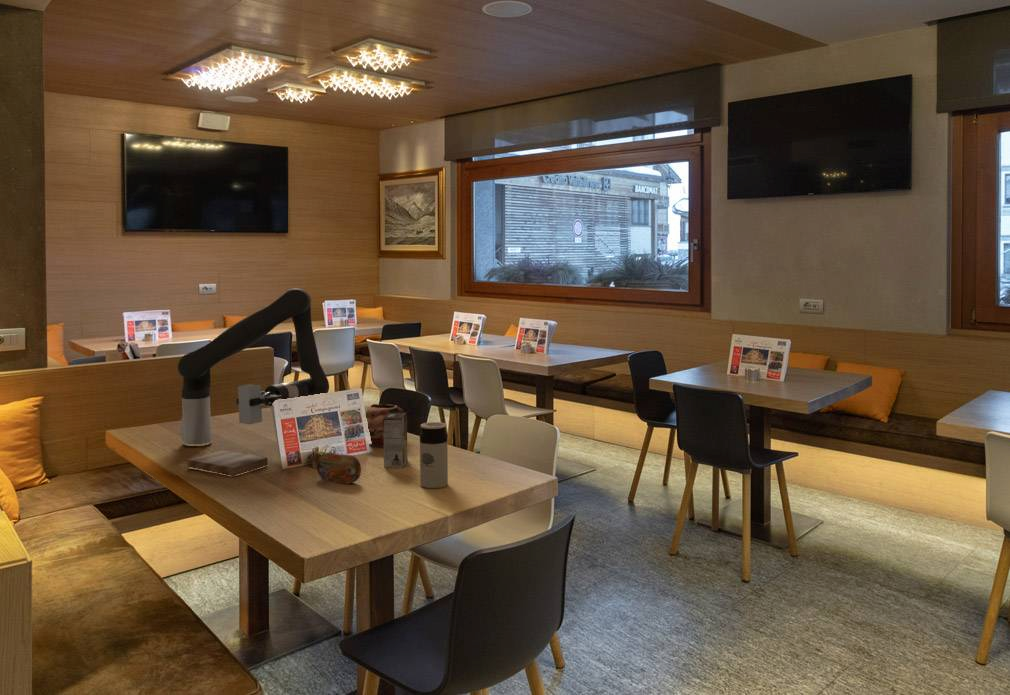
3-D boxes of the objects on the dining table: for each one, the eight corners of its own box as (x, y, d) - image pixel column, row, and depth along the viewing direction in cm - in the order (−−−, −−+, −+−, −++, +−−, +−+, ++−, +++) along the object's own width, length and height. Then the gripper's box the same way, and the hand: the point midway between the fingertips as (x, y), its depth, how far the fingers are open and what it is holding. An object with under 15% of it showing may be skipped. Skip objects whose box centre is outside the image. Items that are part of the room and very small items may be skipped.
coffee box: (388, 460, 254) (387, 412, 252) (407, 460, 254) (407, 412, 252) (383, 467, 245) (382, 418, 243) (403, 468, 245) (403, 418, 243)
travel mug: (433, 479, 231) (433, 420, 229) (453, 484, 226) (452, 424, 224) (414, 485, 225) (413, 425, 223) (434, 490, 220) (433, 428, 218)
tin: (316, 479, 232) (315, 452, 231) (323, 477, 235) (322, 449, 234) (356, 486, 225) (355, 458, 224) (362, 483, 228) (362, 455, 227)
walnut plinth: (187, 469, 244) (187, 459, 243) (223, 459, 256) (222, 450, 255) (233, 477, 234) (232, 467, 234) (267, 466, 246) (267, 457, 246)
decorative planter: (388, 436, 290) (387, 399, 288) (415, 439, 284) (414, 402, 283) (354, 447, 272) (353, 408, 271) (382, 451, 266) (381, 411, 265)
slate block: (239, 422, 251) (237, 386, 250) (250, 420, 256) (249, 384, 254) (250, 424, 249) (249, 387, 248) (262, 421, 253) (260, 385, 252)
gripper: (265, 381, 267) (227, 389, 252) (297, 385, 260) (259, 392, 245) (266, 403, 268) (228, 411, 253) (297, 407, 261) (260, 415, 246)
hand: (243, 402), depth 249 cm, fingers closed on slate block, 5 cm apart
